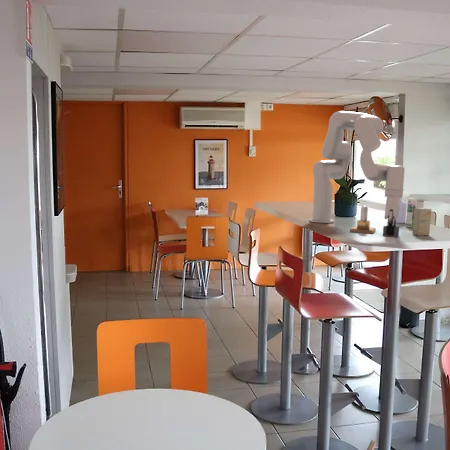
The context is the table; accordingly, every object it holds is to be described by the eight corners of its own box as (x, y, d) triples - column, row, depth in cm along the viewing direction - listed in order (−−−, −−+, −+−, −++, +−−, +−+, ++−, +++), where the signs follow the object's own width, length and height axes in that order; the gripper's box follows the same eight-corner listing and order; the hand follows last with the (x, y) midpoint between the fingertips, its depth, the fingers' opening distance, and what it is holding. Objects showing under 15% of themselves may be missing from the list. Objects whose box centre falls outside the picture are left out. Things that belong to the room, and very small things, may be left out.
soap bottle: (408, 223, 297) (412, 176, 294) (396, 223, 293) (399, 176, 289) (396, 220, 305) (399, 176, 302) (383, 221, 301) (387, 175, 297)
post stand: (353, 229, 263) (355, 204, 261) (375, 231, 259) (377, 205, 258) (350, 231, 254) (351, 205, 252) (372, 233, 250) (374, 207, 249)
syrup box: (405, 226, 281) (407, 197, 279) (414, 226, 283) (416, 198, 281) (412, 228, 276) (414, 198, 274) (422, 227, 278) (424, 199, 276)
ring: (384, 234, 250) (384, 225, 250) (398, 235, 248) (399, 226, 247) (382, 235, 244) (382, 226, 244) (397, 237, 242) (398, 228, 241)
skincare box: (417, 235, 249) (419, 208, 247) (411, 234, 253) (413, 207, 251) (429, 235, 251) (432, 208, 249) (423, 234, 255) (425, 207, 253)
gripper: (387, 192, 253) (384, 231, 255) (382, 194, 237) (379, 235, 240) (404, 193, 250) (401, 232, 253) (400, 195, 234) (397, 237, 237)
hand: (390, 233), depth 246 cm, fingers closed on ring, 6 cm apart
